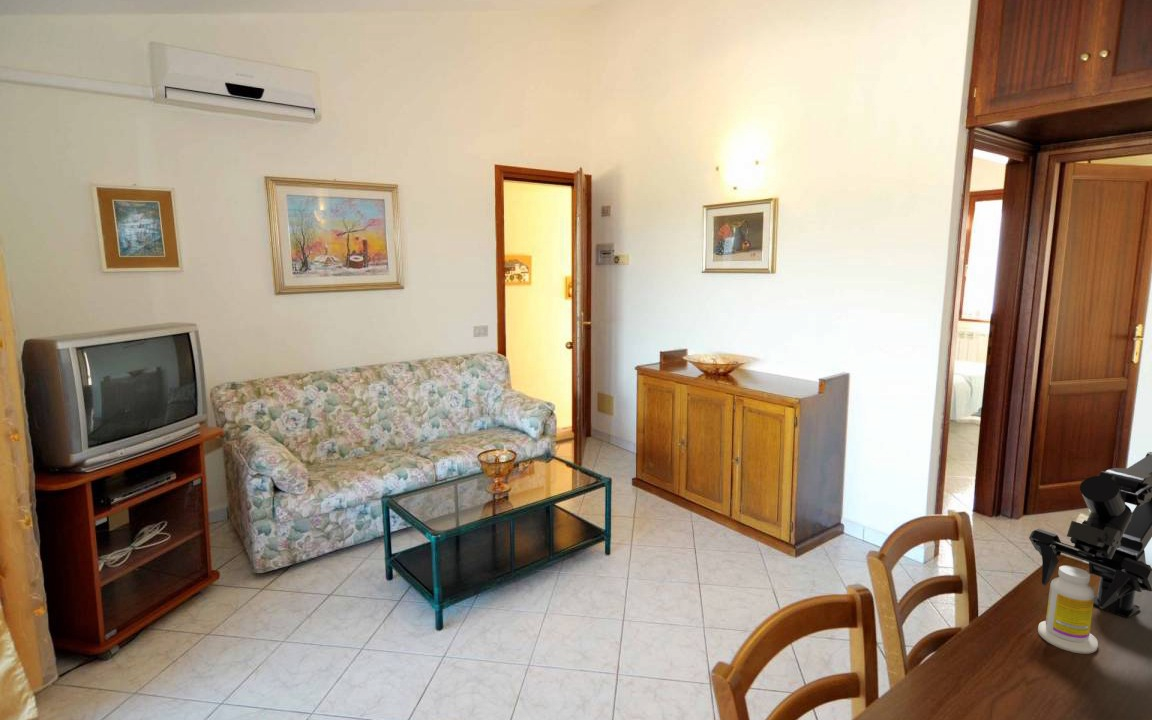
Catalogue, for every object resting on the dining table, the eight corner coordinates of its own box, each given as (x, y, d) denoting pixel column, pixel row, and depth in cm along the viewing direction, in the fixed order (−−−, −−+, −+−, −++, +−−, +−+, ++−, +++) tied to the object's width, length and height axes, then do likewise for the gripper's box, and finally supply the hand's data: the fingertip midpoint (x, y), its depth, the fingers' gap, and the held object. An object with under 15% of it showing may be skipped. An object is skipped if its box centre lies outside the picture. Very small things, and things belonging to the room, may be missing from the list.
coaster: (1051, 619, 125) (1051, 615, 125) (1106, 643, 117) (1106, 638, 117) (1028, 634, 120) (1029, 629, 120) (1084, 659, 113) (1085, 654, 113)
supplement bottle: (1097, 645, 115) (1106, 581, 113) (1058, 642, 116) (1066, 579, 114) (1073, 624, 122) (1082, 563, 120) (1037, 621, 123) (1044, 561, 120)
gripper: (1039, 490, 125) (1004, 555, 121) (1159, 524, 109) (1124, 600, 105) (1053, 518, 130) (1020, 581, 126) (1170, 554, 114) (1137, 627, 110)
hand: (1071, 595), depth 117 cm, fingers open, 9 cm apart
